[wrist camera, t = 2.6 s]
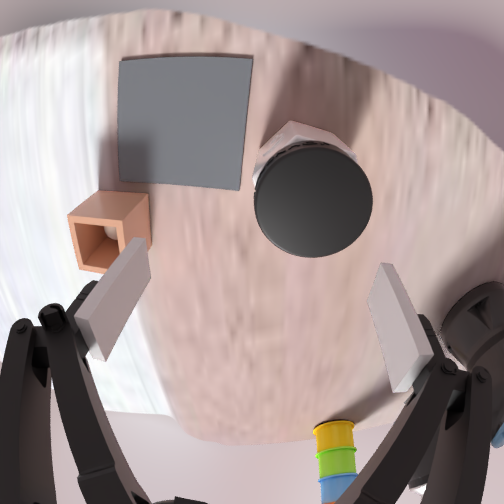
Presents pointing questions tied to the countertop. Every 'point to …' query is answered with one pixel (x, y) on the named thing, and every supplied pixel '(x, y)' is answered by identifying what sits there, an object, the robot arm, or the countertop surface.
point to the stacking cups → (335, 458)
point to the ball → (111, 232)
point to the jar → (310, 192)
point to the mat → (183, 120)
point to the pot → (113, 215)
